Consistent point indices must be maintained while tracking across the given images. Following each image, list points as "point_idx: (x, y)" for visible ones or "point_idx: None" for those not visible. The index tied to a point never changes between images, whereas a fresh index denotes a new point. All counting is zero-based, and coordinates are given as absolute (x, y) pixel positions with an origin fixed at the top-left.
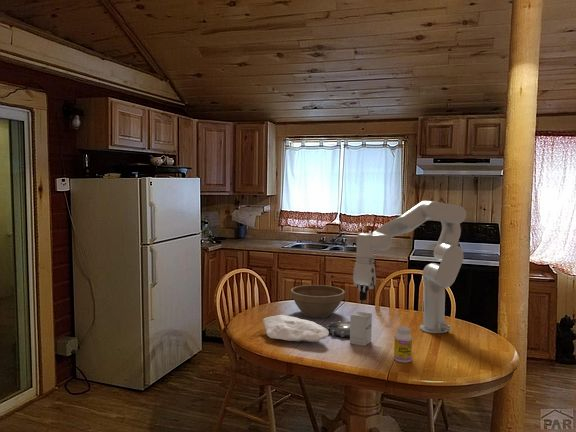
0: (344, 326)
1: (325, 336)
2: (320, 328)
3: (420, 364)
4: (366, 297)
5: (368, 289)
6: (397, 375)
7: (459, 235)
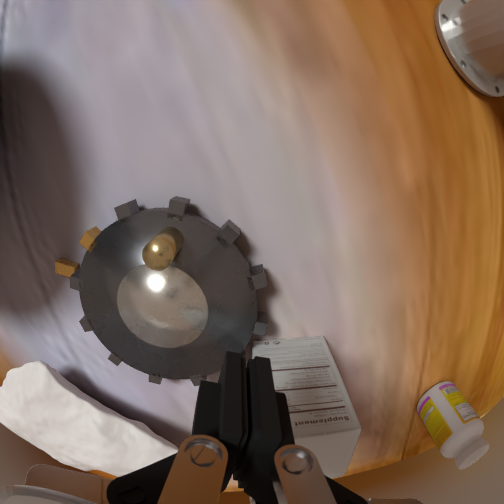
0: (156, 314)
1: None
2: None
3: (467, 388)
4: (284, 401)
5: (333, 493)
6: (418, 450)
7: None
